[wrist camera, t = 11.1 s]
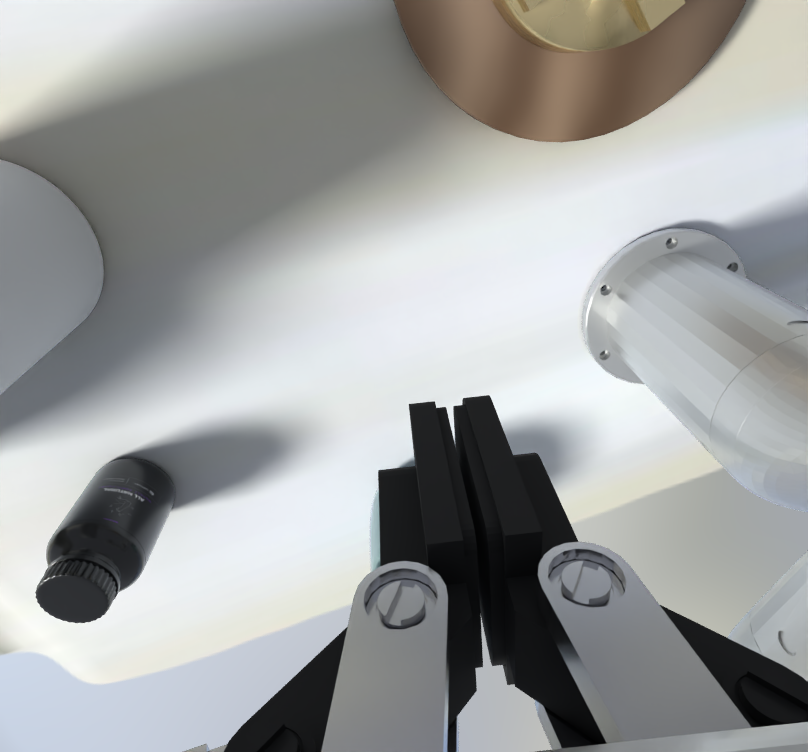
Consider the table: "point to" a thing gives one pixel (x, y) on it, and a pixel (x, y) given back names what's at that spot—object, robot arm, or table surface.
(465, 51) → the lever base
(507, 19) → the grey lever
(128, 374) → the table surface
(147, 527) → the supplement bottle
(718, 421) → the robot arm
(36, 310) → the cylinder vase
